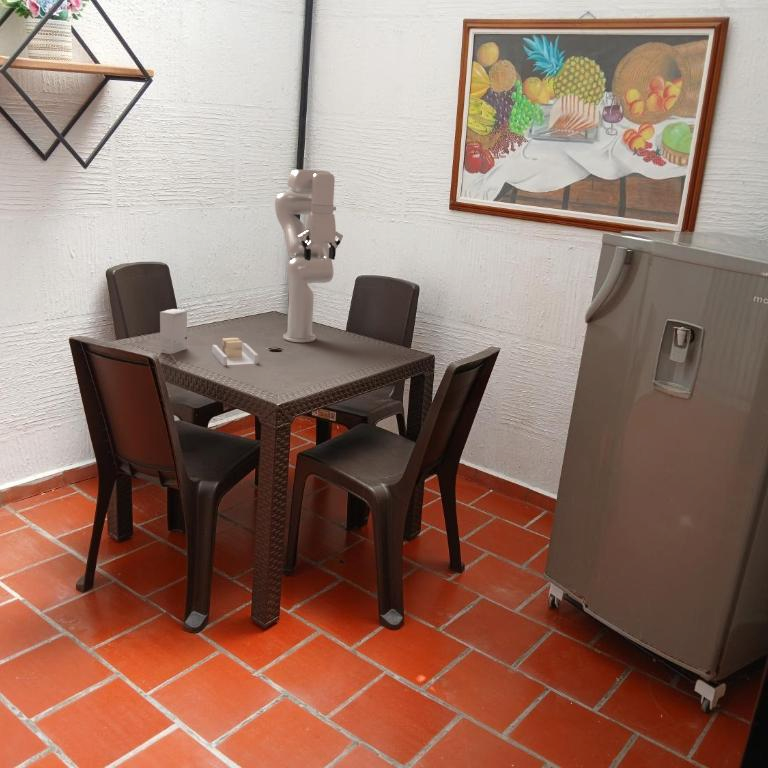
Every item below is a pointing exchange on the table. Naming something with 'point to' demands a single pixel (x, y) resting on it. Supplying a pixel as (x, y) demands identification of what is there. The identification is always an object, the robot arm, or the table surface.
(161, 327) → the skincare box
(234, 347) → the birch block
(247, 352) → the u-shaped channel
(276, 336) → the table surface
